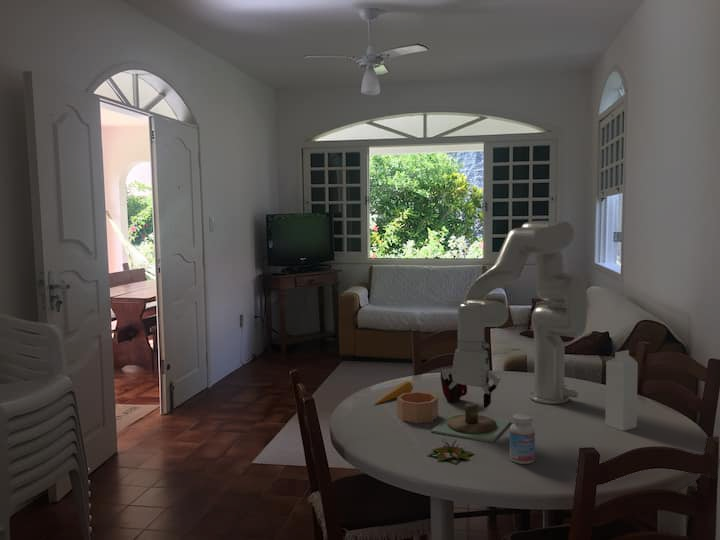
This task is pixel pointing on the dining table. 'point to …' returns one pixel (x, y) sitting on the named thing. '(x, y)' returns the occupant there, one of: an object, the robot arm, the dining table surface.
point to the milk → (621, 391)
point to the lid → (471, 421)
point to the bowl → (417, 407)
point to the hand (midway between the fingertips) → (470, 404)
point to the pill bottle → (522, 439)
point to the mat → (486, 437)
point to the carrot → (397, 392)
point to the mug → (446, 389)
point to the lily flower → (451, 452)
